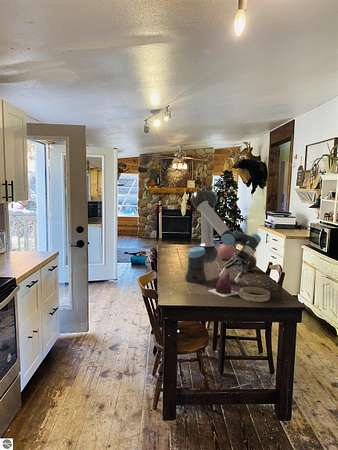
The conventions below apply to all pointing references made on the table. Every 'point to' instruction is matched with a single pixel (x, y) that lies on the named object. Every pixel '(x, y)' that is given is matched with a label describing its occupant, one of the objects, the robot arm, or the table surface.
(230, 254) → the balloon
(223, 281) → the vegetable
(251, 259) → the wooden sphere
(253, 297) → the segmented wooden ring
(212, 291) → the white mat
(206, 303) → the table surface
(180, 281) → the table surface
